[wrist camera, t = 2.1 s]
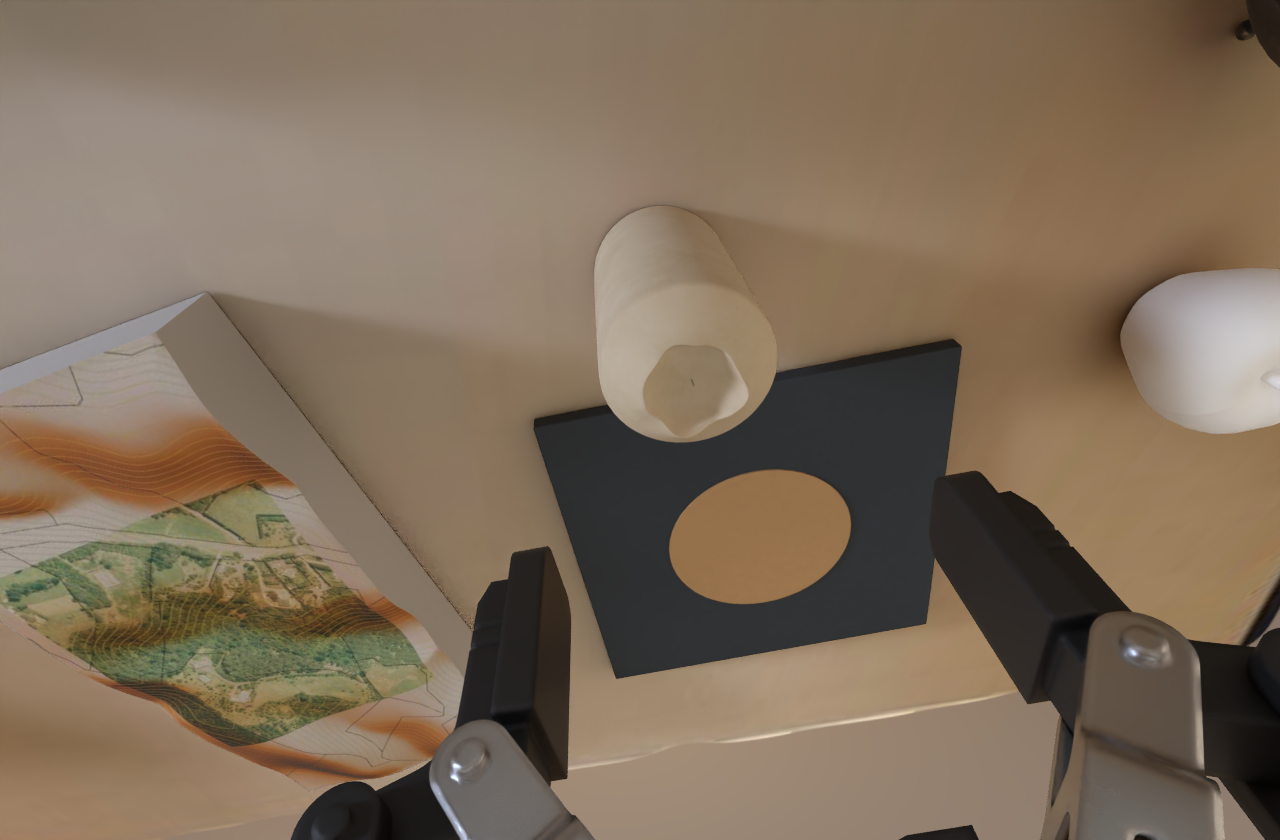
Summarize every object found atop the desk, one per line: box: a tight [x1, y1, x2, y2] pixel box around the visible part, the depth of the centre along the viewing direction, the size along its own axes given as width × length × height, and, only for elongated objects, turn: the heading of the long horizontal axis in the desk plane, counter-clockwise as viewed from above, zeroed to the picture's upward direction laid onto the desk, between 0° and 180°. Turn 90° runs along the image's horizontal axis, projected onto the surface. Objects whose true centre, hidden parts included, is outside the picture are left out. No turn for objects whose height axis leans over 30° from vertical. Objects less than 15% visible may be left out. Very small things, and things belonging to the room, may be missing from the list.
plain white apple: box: [1120, 268, 1280, 434], centre depth 26 cm, size 7×7×8 cm
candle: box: [594, 206, 778, 442], centre depth 22 cm, size 6×6×10 cm
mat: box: [534, 339, 962, 679], centre depth 35 cm, size 20×20×1 cm
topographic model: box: [0, 292, 473, 791], centre depth 32 cm, size 30×14×5 cm, turn 19°
